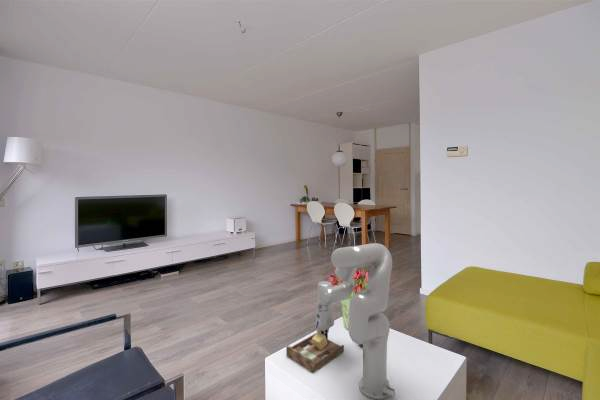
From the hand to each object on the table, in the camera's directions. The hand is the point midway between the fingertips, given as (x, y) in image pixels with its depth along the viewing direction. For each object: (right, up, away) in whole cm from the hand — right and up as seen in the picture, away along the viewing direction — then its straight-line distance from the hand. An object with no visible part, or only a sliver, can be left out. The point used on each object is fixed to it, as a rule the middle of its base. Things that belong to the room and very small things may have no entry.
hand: (324, 339), depth 146 cm
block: (-2, -1, -3) cm, 4 cm away
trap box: (-5, -4, -6) cm, 9 cm away
